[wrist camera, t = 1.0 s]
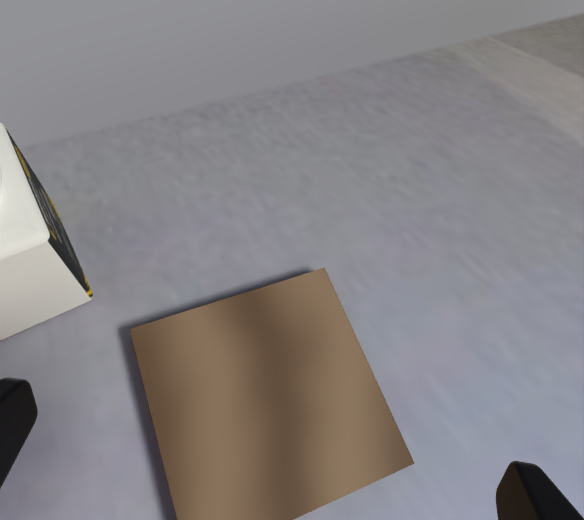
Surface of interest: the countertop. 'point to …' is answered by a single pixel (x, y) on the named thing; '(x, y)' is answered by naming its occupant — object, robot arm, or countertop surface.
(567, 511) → the robot arm
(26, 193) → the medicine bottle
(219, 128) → the countertop surface
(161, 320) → the walnut board
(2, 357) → the countertop surface
